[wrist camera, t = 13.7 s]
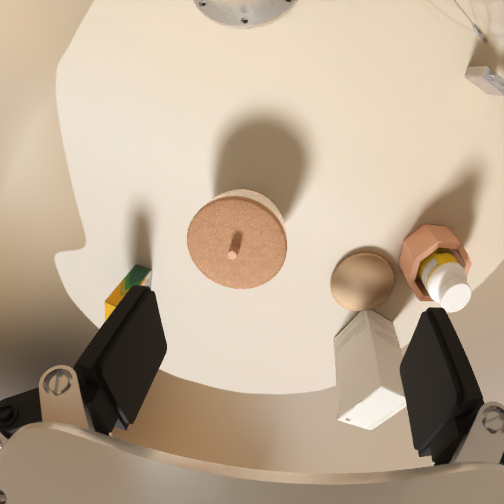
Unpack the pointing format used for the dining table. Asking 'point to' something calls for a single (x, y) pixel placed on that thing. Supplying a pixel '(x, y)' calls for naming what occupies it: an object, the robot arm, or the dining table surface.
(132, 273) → the crayon box
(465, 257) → the terracotta octagonal planter pot
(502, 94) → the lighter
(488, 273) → the dining table surface
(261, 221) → the lidded jar
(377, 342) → the skincare box
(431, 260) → the supplement bottle
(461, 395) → the robot arm
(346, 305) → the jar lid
